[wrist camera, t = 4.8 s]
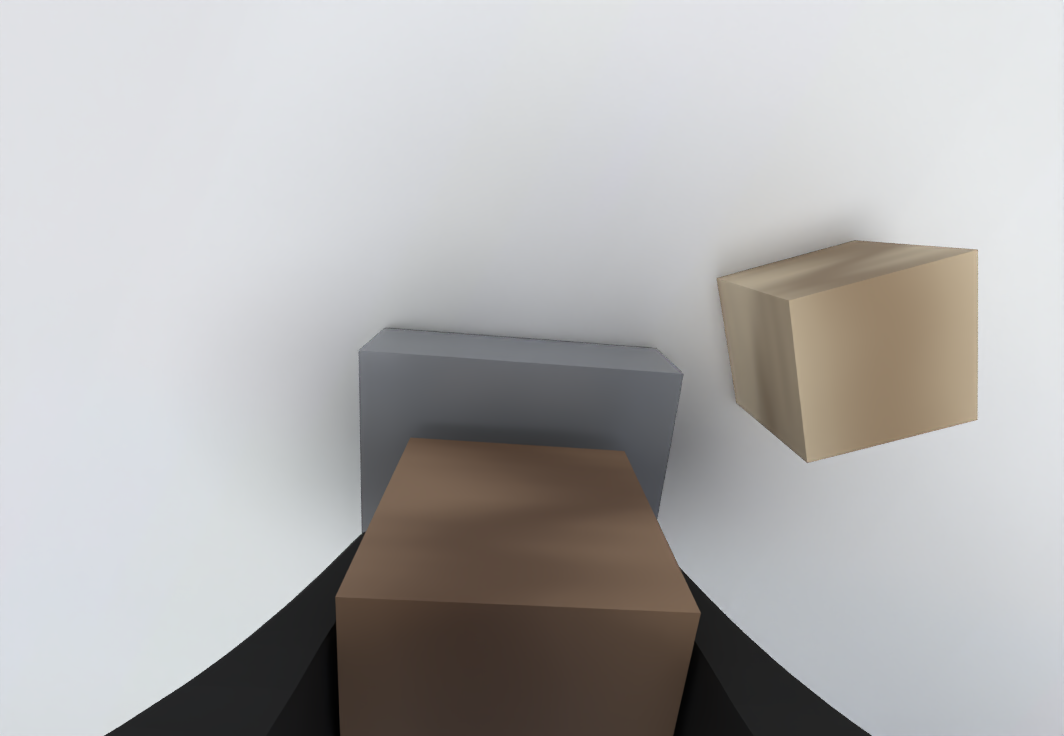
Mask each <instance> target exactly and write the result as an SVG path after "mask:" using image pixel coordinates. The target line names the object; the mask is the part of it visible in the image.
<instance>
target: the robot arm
mask: <svg viewBox="0 0 1064 736" xmlns="http://www.w3.org/2000/svg"><path fill="white" fill-rule="evenodd" d="M365 533H366V532H363V533H362V534H361V535H360V536H359V537H358V538H357V539H356V540H354V541H353V542H352V543H351V544H350V545H349V546H348V547H347V548H346V549H345V550H344V551H343V552H342V553H341V554H340V555H339V556H338V557H337V558H336V559H335V560H334V561H333V562H332V563H331V564H330V565H329V566H328V567H327V568H326V569H325V570H324V571H323V572H322V573H321V574H320V575H319V576H318V577H317V578H316V579H315V580H313V581H312V582H311V583H310V584H309V585H308V586H307V587H306V588H305V589H304V590H303V591H302V592H300V593H299V594H298V595H297V596H296V597H295V598H294V599H293V600H292V601H291V602H289V603H288V604H287V605H286V606H285V607H284V608H283V609H281V610H280V611H279V612H278V613H277V614H275V615H274V616H273V617H272V618H271V619H270V620H268V621H267V622H266V623H265V624H264V625H262V626H261V627H260V628H259V629H258V630H257V631H255V632H254V633H253V634H252V635H251V636H249V637H248V638H247V639H246V640H244V641H243V642H242V643H240V644H239V645H238V646H237V647H235V648H234V649H233V650H232V651H230V652H229V653H228V654H226V655H225V656H224V657H222V658H221V659H220V660H218V661H217V662H216V663H214V664H213V665H211V666H210V667H209V668H207V669H206V670H205V671H203V672H202V673H200V674H199V675H198V676H196V677H195V678H193V679H192V680H190V681H189V682H188V683H186V684H185V685H183V686H182V687H180V688H179V689H177V690H175V691H174V692H172V693H171V694H169V695H168V696H166V697H165V698H163V699H161V700H160V701H158V702H157V703H155V704H154V705H152V706H151V707H149V708H148V709H146V710H144V711H143V712H141V713H140V714H138V715H137V716H135V717H134V718H132V719H130V720H129V721H127V722H126V723H124V724H123V725H121V726H120V727H118V728H116V729H115V730H113V731H111V732H110V733H108V734H106V735H105V736H340V716H339V688H338V659H337V631H336V603H335V597H336V594H337V592H338V590H339V588H340V586H341V584H342V582H343V580H344V577H345V575H346V573H347V571H348V569H349V567H350V565H351V562H352V560H353V558H354V556H355V554H356V552H357V550H358V548H359V545H360V543H361V541H362V539H363V537H364V535H365ZM679 568H680V567H679ZM680 570H681V572H682V574H683V576H684V578H685V581H686V583H687V585H688V587H689V589H690V591H691V593H692V595H693V598H694V600H695V602H696V604H697V606H698V608H699V610H700V612H701V614H700V619H699V623H698V628H697V632H696V636H695V641H694V645H693V650H692V654H691V659H690V663H689V667H688V672H687V676H686V681H685V685H684V690H683V694H682V698H681V703H680V707H679V712H678V716H677V721H676V725H675V729H674V734H673V736H871V735H870V734H869V733H867V732H866V731H864V730H863V729H861V728H860V727H859V726H857V725H856V724H854V723H853V722H851V721H850V720H849V719H847V718H846V717H845V716H843V715H842V714H841V713H839V712H838V711H837V710H835V709H834V708H833V707H831V706H830V705H829V704H827V703H826V702H825V701H824V700H822V699H821V698H820V697H819V696H817V695H816V694H815V693H814V692H812V691H811V690H810V689H809V688H807V687H806V686H805V685H804V684H802V683H801V682H800V681H799V680H797V679H796V678H795V677H794V676H792V675H791V674H790V673H789V672H788V671H786V670H785V669H784V668H783V667H782V666H781V665H779V664H778V663H777V662H776V661H775V660H774V659H772V658H771V657H770V656H769V655H768V654H767V653H766V652H765V651H764V650H763V649H761V648H760V647H759V646H758V645H757V644H756V643H755V642H754V641H753V640H751V639H750V638H749V637H748V636H747V635H746V634H745V633H744V632H743V631H742V630H741V629H740V628H739V627H738V626H737V625H735V624H734V623H733V622H732V621H731V620H730V619H729V618H728V617H727V616H726V615H725V614H724V613H723V612H722V611H721V610H720V609H719V608H718V607H717V606H716V605H715V604H714V603H713V602H712V601H711V600H710V599H709V598H708V597H707V596H706V595H705V594H704V593H703V592H702V590H701V589H700V588H699V587H698V586H697V585H696V584H695V583H694V582H693V581H692V580H691V579H690V578H689V577H688V576H687V575H686V574H685V573H684V572H683V570H682V569H681V568H680Z"/></svg>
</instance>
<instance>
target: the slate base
mask: <svg viewBox="0 0 1064 736" xmlns="http://www.w3.org/2000/svg"><path fill="white" fill-rule="evenodd" d="M682 380H683V373H682V372H681V371H680V370H679V369H678V368H677V367H676V366H675V365H674V364H673V363H672V362H670V361H669V360H668V359H667V358H666V357H665V356H664V355H663V354H662V353H661V352H660V351H659V350H658V349H656V348H645V347H632V346H618V345H605V344H592V343H578V342H565V341H552V340H538V339H525V338H512V337H498V336H485V335H472V334H458V333H445V332H432V331H418V330H405V329H392V328H384V329H383V330H382V331H381V332H379V333H378V334H377V335H376V336H375V337H374V338H372V339H371V340H370V341H369V342H368V343H367V344H366V345H364V346H363V347H362V348H361V349H360V350H359V393H360V453H361V514H362V533H363V532H366V531H367V528H368V526H369V524H370V522H371V520H372V518H373V516H374V514H375V511H376V509H377V507H378V505H379V503H380V501H381V499H382V497H383V494H384V492H385V490H386V488H387V486H388V484H389V482H390V480H391V477H392V475H393V473H394V471H395V469H396V467H397V465H398V463H399V460H400V458H401V456H402V454H403V452H404V450H405V448H406V446H407V443H408V441H409V439H410V438H425V439H441V440H457V441H473V442H489V443H505V444H521V445H537V446H553V447H569V448H585V449H601V450H616V451H625V453H626V455H627V458H628V460H629V462H630V464H631V466H632V468H633V470H634V472H635V474H636V477H637V479H638V481H639V483H640V485H641V487H642V489H643V491H644V494H645V496H646V498H647V500H648V502H649V504H650V506H651V508H652V511H653V513H654V515H655V517H656V519H657V517H658V512H659V506H660V501H661V495H662V490H663V484H664V479H665V473H666V468H667V462H668V457H669V451H670V446H671V440H672V435H673V429H674V424H675V418H676V413H677V407H678V402H679V396H680V391H681V385H682Z"/></svg>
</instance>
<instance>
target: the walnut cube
mask: <svg viewBox="0 0 1064 736" xmlns="http://www.w3.org/2000/svg"><path fill="white" fill-rule="evenodd" d="M335 603H336V631H337V659H338V688H339V716H340V736H673V734H674V729H675V725H676V721H677V716H678V712H679V707H680V703H681V698H682V694H683V690H684V685H685V681H686V676H687V672H688V667H689V663H690V659H691V654H692V650H693V645H694V641H695V636H696V632H697V628H698V623H699V619H700V614H701V612H700V610H699V608H698V606H697V604H696V602H695V600H694V598H693V595H692V593H691V591H690V589H689V587H688V585H687V583H686V581H685V578H684V576H683V574H682V572H681V570H680V568H679V566H678V564H677V562H676V559H675V557H674V555H673V553H672V551H671V549H670V547H669V545H668V542H667V540H666V538H665V536H664V534H663V532H662V530H661V528H660V525H659V523H658V521H657V519H656V517H655V515H654V513H653V511H652V508H651V506H650V504H649V502H648V500H647V498H646V496H645V494H644V491H643V489H642V487H641V485H640V483H639V481H638V479H637V477H636V474H635V472H634V470H633V468H632V466H631V464H630V462H629V460H628V458H627V455H626V453H625V451H616V450H601V449H585V448H569V447H553V446H537V445H521V444H505V443H489V442H473V441H457V440H441V439H425V438H410V439H409V441H408V443H407V446H406V448H405V450H404V452H403V454H402V456H401V458H400V460H399V463H398V465H397V467H396V469H395V471H394V473H393V475H392V477H391V480H390V482H389V484H388V486H387V488H386V490H385V492H384V494H383V497H382V499H381V501H380V503H379V505H378V507H377V509H376V511H375V514H374V516H373V518H372V520H371V522H370V524H369V526H368V528H367V531H366V533H365V535H364V537H363V539H362V541H361V543H360V545H359V548H358V550H357V552H356V554H355V556H354V558H353V560H352V562H351V565H350V567H349V569H348V571H347V573H346V575H345V577H344V580H343V582H342V584H341V586H340V588H339V590H338V592H337V594H336V597H335Z"/></svg>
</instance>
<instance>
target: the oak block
mask: <svg viewBox="0 0 1064 736" xmlns="http://www.w3.org/2000/svg"><path fill="white" fill-rule="evenodd" d="M717 283H718V290H719V296H720V302H721V309H722V315H723V321H724V328H725V334H726V340H727V347H728V353H729V359H730V366H731V372H732V379H733V385H734V391H735V398H736V403H737V404H738V405H739V406H740V407H742V408H743V409H744V410H745V411H746V412H748V413H749V414H750V415H751V416H752V417H753V418H755V419H756V420H757V421H758V422H759V423H761V424H762V425H763V426H764V427H765V428H767V429H768V430H769V431H770V432H771V433H772V434H774V435H775V436H776V437H777V438H778V439H780V440H781V441H782V442H783V443H784V444H785V445H787V446H788V447H789V448H790V449H791V450H793V451H794V452H795V453H796V454H797V455H798V456H800V457H801V458H802V459H803V460H804V461H806V462H807V463H809V462H813V461H817V460H821V459H825V458H829V457H833V456H837V455H841V454H845V453H849V452H852V451H856V450H860V449H864V448H868V447H872V446H876V445H880V444H884V443H888V442H892V441H896V440H900V439H904V438H908V437H912V436H916V435H919V434H923V433H927V432H931V431H935V430H939V429H943V428H947V427H951V426H955V425H959V424H963V423H967V422H971V421H975V420H977V385H978V250H976V249H962V248H949V247H935V246H922V245H909V244H895V243H882V242H869V241H851V242H847V243H844V244H840V245H836V246H833V247H829V248H825V249H822V250H818V251H814V252H811V253H807V254H803V255H800V256H796V257H792V258H789V259H785V260H781V261H778V262H774V263H770V264H767V265H763V266H759V267H756V268H752V269H748V270H745V271H741V272H737V273H734V274H730V275H726V276H723V277H719V278H717Z"/></svg>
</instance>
